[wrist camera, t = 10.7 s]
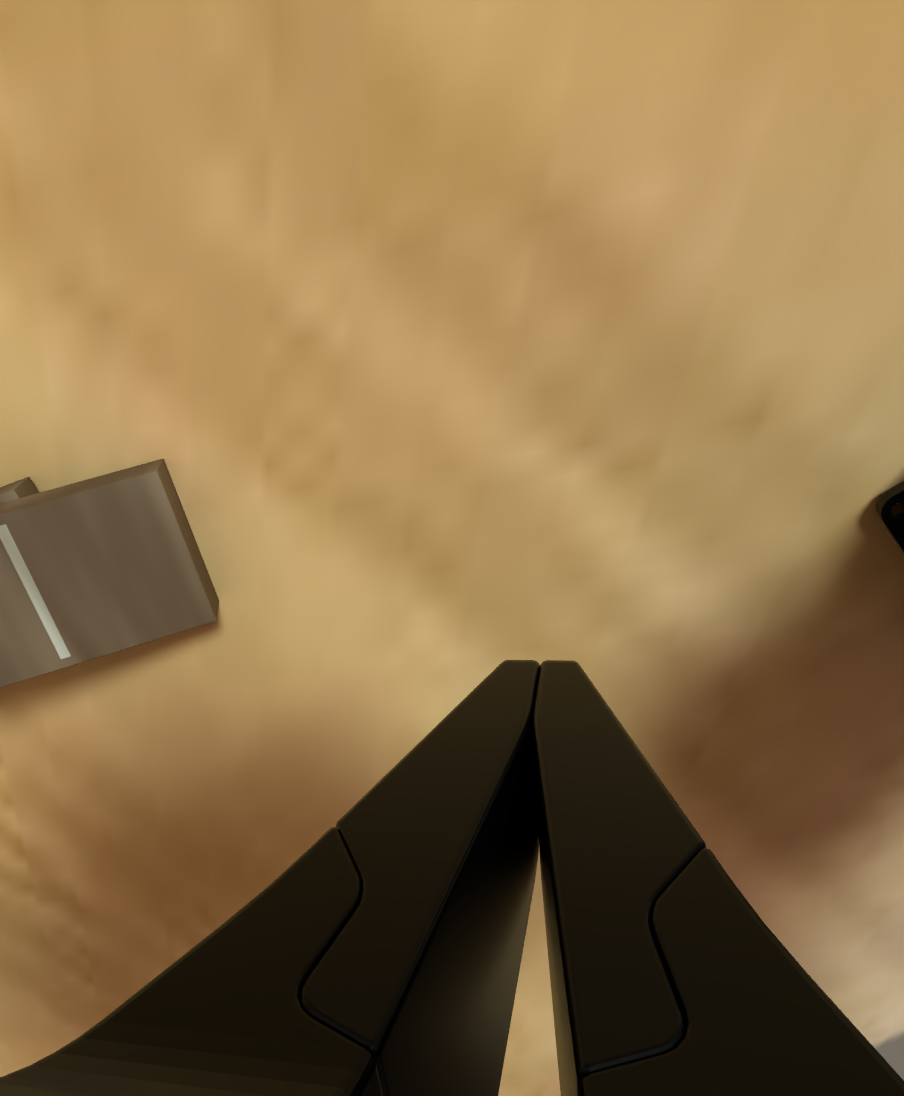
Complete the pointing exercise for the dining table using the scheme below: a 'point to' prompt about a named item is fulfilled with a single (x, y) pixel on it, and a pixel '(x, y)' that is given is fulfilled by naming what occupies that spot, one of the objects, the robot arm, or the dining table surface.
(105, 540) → the domino
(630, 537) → the dining table surface
